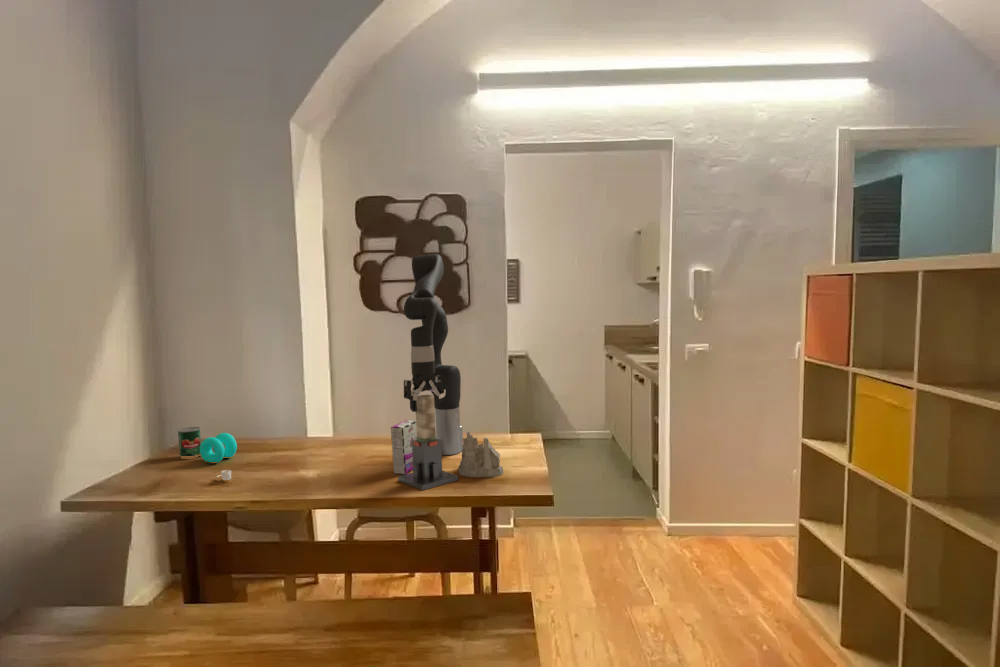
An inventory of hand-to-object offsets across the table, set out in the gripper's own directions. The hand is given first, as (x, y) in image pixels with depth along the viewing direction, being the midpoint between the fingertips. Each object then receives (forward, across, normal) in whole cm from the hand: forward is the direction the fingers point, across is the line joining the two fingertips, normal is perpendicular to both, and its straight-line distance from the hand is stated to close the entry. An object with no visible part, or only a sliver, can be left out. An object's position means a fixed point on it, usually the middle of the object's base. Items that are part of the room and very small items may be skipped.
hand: (425, 409), depth 212 cm
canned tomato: (+24, +47, -94) cm, 108 cm away
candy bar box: (+24, -2, -16) cm, 29 cm away
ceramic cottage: (+24, -20, +4) cm, 31 cm away
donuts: (+24, +41, -79) cm, 92 cm away
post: (+16, 0, 0) cm, 16 cm away
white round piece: (+24, +46, -51) cm, 73 cm away
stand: (+24, 0, 0) cm, 24 cm away
